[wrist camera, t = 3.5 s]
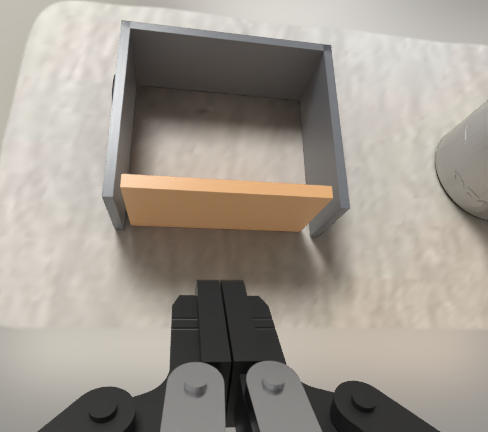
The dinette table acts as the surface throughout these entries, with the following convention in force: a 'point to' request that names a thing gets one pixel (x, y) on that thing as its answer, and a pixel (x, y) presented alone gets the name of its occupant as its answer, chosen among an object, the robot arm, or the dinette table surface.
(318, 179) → the open u-shaped enclosure
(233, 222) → the side door
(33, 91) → the dinette table surface
